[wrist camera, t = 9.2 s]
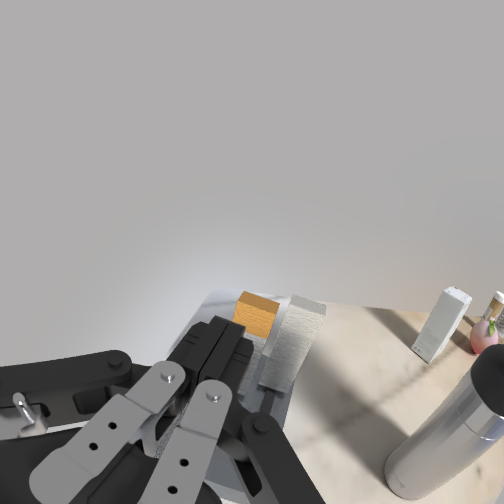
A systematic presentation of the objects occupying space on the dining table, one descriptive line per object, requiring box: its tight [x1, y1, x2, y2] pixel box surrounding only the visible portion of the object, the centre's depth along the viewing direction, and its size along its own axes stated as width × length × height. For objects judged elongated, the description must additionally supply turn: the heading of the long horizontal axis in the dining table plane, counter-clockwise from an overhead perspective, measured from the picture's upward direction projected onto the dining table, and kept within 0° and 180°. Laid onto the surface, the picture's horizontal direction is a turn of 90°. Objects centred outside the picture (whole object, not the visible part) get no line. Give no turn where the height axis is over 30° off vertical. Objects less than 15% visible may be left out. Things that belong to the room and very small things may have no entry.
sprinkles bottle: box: [481, 291, 504, 322], centre depth 63 cm, size 5×5×13 cm
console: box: [204, 354, 295, 504], centre depth 30 cm, size 20×10×4 cm, turn 164°
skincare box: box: [411, 286, 472, 363], centre depth 50 cm, size 8×6×15 cm
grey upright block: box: [258, 295, 326, 393], centre depth 31 cm, size 2×4×12 cm, turn 75°
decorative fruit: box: [470, 320, 498, 354], centre depth 53 cm, size 9×8×10 cm
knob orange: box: [232, 291, 280, 396], centre depth 29 cm, size 2×4×12 cm, turn 74°
